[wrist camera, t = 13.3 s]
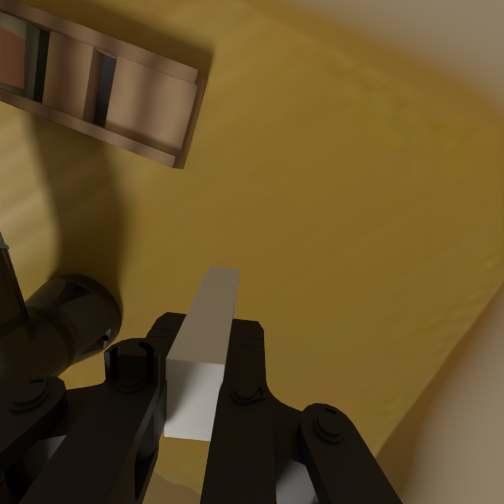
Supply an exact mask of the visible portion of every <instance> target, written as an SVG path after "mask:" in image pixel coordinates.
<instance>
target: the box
mask: <svg viewBox="0 0 504 504" xmlns="http://www.w3.org/2000/svg"><path fill="white" fill-rule="evenodd" d="M0 26H1V27H3V28H4V29H6V30H8V31H10V32H12V33H14V34H16V35H17V36H19V37H21V38H23V39H24V89H21V88H17V87H14V86H10V85H6V84H3V83H0V101H2V102H4V103H7V104H10V105H12V106H15V107H17V108H20V109H22V110H25V111H28V112H30V113H33V114H35V115H38V116H40V117H43V118H46V119H48V120H51V121H53V122H56V123H58V124H61V125H63V126H66V127H69V128H71V129H74V130H76V131H79V132H81V133H84V134H87V135H89V136H92V137H94V138H97V139H99V140H102V141H105V142H107V143H110V144H112V145H115V146H117V147H120V148H123V149H125V150H128V151H130V152H133V153H135V154H138V155H141V156H143V157H146V158H148V159H151V160H153V161H156V162H159V163H161V164H164V165H166V166H169V167H171V168H178V169H183V167H184V164H185V160H186V156H187V153H188V149H189V145H190V142H191V138H192V134H193V131H194V127H195V123H196V120H197V116H198V113H199V109H200V105H201V102H202V98H203V94H204V91H205V87H206V83H207V80H206V79H205V78H204V77H203V75H202V74H201V73H200V72H199V70H197V69H195V68H192V67H189V66H187V65H184V64H182V63H179V62H176V61H174V60H171V59H168V58H166V57H163V56H161V55H158V54H155V53H153V52H150V51H148V50H145V49H142V48H140V47H137V46H134V45H132V44H129V43H127V42H124V41H121V40H119V39H116V38H113V37H111V36H108V35H106V34H103V33H100V32H98V31H95V30H93V29H90V28H87V27H85V26H82V25H79V24H77V23H74V22H72V21H69V20H66V19H64V18H61V17H58V16H56V15H53V14H51V13H48V12H45V11H43V10H40V9H38V8H35V7H32V6H30V5H27V4H24V3H22V2H19V1H17V0H0Z"/></svg>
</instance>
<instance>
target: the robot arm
mask: <svg viewBox="0 0 504 504" xmlns="http://www.w3.org/2000/svg"><path fill="white" fill-rule="evenodd" d="M8 250H9V247H8V245H6V244H5V242H4V240H3V237H2V235H1V232H0V504H142V502H143V499H144V496H145V493H146V490H147V487H148V485H149V482H150V479H151V476H152V473H153V470H154V467H155V464H156V461H157V457H158V450H159V439H160V436H161V433H162V431H163V428H164V436H165V437H175V438H185V439H195V440H205V441H210V447H209V453H208V459H207V465H206V471H205V477H204V482H203V488H202V494H201V500H200V504H277V503H279V504H402V502H401V500H400V499H399V497H398V495H397V494H396V492H395V491H394V489H393V487H392V486H391V484H390V483H389V481H388V479H387V478H386V476H385V474H384V473H383V471H382V470H381V468H380V466H379V465H378V463H377V461H376V460H375V458H374V457H373V455H372V453H371V452H370V450H369V448H368V447H367V445H366V444H365V442H364V440H363V439H362V437H361V435H360V434H359V432H358V431H357V429H356V427H355V426H354V424H353V423H352V422H351V421H350V419H349V418H348V417H347V416H346V415H345V414H344V413H343V412H341V411H340V410H338V409H337V408H335V407H333V406H330V405H328V404H322V403H315V404H312V405H309V406H307V407H306V408H305V409H304V410H303V411H299V410H297V409H294V408H292V407H289V406H287V405H285V404H283V403H281V402H280V401H279V400H278V399H276V398H275V397H274V396H273V395H272V393H271V392H270V391H269V389H268V387H267V383H266V369H265V349H264V330H263V328H262V327H261V325H260V324H259V322H258V321H250V320H241V319H234V314H235V306H236V297H237V288H238V280H239V271H240V269H232V268H224V267H215V266H209V268H208V270H207V272H206V274H205V276H204V278H203V281H202V283H201V285H200V287H199V289H198V291H197V293H196V296H195V298H194V300H193V302H192V304H191V306H190V308H189V311H188V313H187V314H180V313H171V312H167V313H165V314H164V315H162V316H161V317H159V318H158V319H157V320H156V321H155V323H154V324H153V326H152V328H151V329H150V331H149V332H148V334H147V336H146V337H145V338H131V339H127V340H122V341H120V342H118V343H116V344H114V345H112V346H110V347H109V348H108V349H107V350H106V351H105V352H104V360H105V376H106V379H105V381H104V382H103V383H101V384H98V385H94V386H89V387H83V388H76V389H69V390H66V388H65V384H64V381H63V380H61V379H60V378H58V376H59V375H60V374H61V373H63V372H64V371H65V370H66V369H67V368H68V367H70V366H71V365H73V364H76V363H78V362H80V361H83V360H85V359H87V358H89V357H92V356H94V355H96V354H98V353H100V352H101V351H103V350H104V349H105V348H106V347H108V346H109V345H110V344H111V343H112V342H113V341H114V340H115V338H116V337H117V335H118V333H119V330H120V324H121V320H120V313H119V309H118V307H117V304H116V302H115V300H114V299H113V297H112V296H111V295H110V293H109V292H108V291H107V290H106V289H105V288H104V287H103V286H102V285H100V284H99V283H97V282H96V281H94V280H92V279H90V278H88V277H85V276H81V275H74V274H70V275H63V276H60V277H58V278H55V279H53V280H51V281H49V282H47V283H45V284H44V285H42V286H41V287H40V288H39V289H38V290H37V291H36V292H35V293H34V294H33V295H32V296H31V297H30V298H29V299H28V300H26V301H25V302H24V300H23V297H22V293H21V290H20V287H19V284H18V281H17V278H16V274H15V271H14V268H13V265H12V262H11V258H10V255H9V252H8ZM164 425H165V427H164Z"/></svg>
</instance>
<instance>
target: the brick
mask: <svg viewBox="0 0 504 504" xmlns="http://www.w3.org/2000/svg"><path fill="white" fill-rule="evenodd" d="M0 83H3V84H6V85H10V86H14V87H17V88H21V89H24V39H23V38H21V37H19V36H17V35H16V34H14V33H12V32H10V31H8V30H6V29H4V28H3V27H1V26H0Z"/></svg>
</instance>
